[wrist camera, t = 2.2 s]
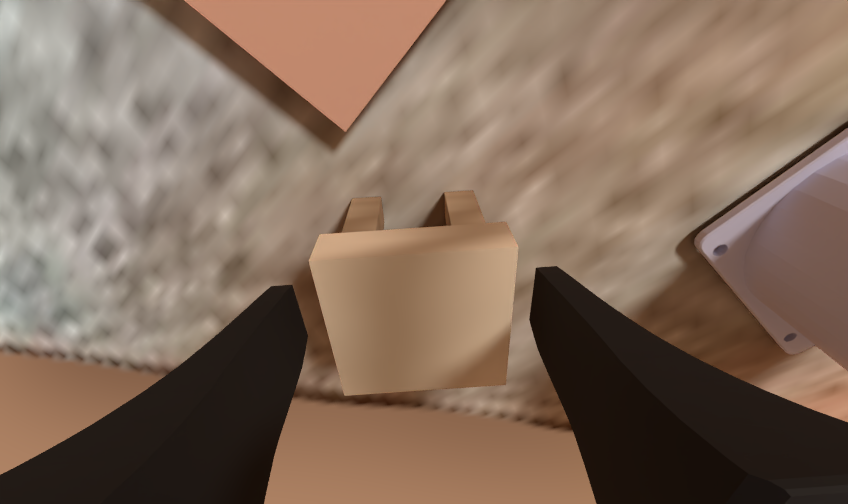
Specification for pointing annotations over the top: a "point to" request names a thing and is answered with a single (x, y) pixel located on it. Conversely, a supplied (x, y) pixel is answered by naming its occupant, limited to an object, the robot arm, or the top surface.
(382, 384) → the toy stool
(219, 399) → the robot arm
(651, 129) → the top surface
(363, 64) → the mat
